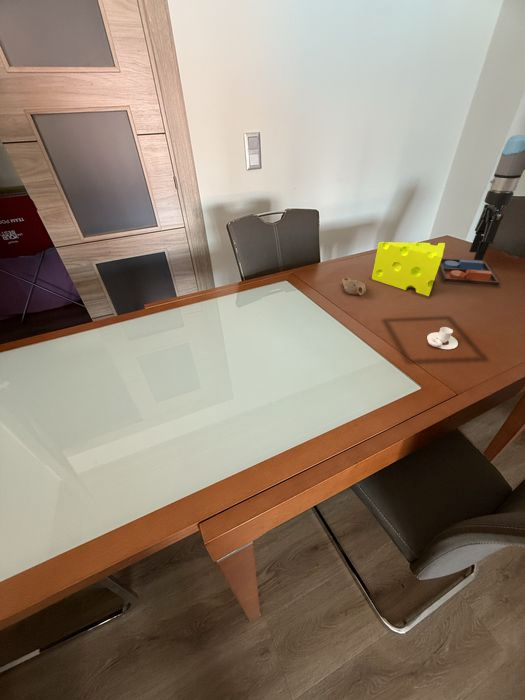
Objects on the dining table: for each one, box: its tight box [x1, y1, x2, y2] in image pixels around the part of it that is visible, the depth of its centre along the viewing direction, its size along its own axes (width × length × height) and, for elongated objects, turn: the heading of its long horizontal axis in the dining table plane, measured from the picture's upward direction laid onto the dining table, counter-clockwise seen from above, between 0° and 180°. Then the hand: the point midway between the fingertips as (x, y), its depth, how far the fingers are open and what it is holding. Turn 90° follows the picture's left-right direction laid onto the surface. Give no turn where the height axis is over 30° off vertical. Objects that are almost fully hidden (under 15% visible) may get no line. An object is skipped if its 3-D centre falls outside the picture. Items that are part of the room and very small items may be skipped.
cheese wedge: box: [371, 241, 446, 297], centre depth 109 cm, size 19×20×15 cm
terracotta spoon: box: [449, 270, 492, 280], centre depth 114 cm, size 13×5×3 cm, turn 74°
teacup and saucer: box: [426, 326, 459, 350], centre depth 86 cm, size 9×8×4 cm
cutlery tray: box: [438, 257, 500, 287], centre depth 118 cm, size 18×19×2 cm
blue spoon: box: [444, 259, 484, 269], centre depth 121 cm, size 13×5×3 cm, turn 74°
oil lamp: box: [341, 277, 367, 296], centre depth 110 cm, size 13×8×5 cm, turn 14°
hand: (475, 255), depth 118 cm, fingers open, 7 cm apart
